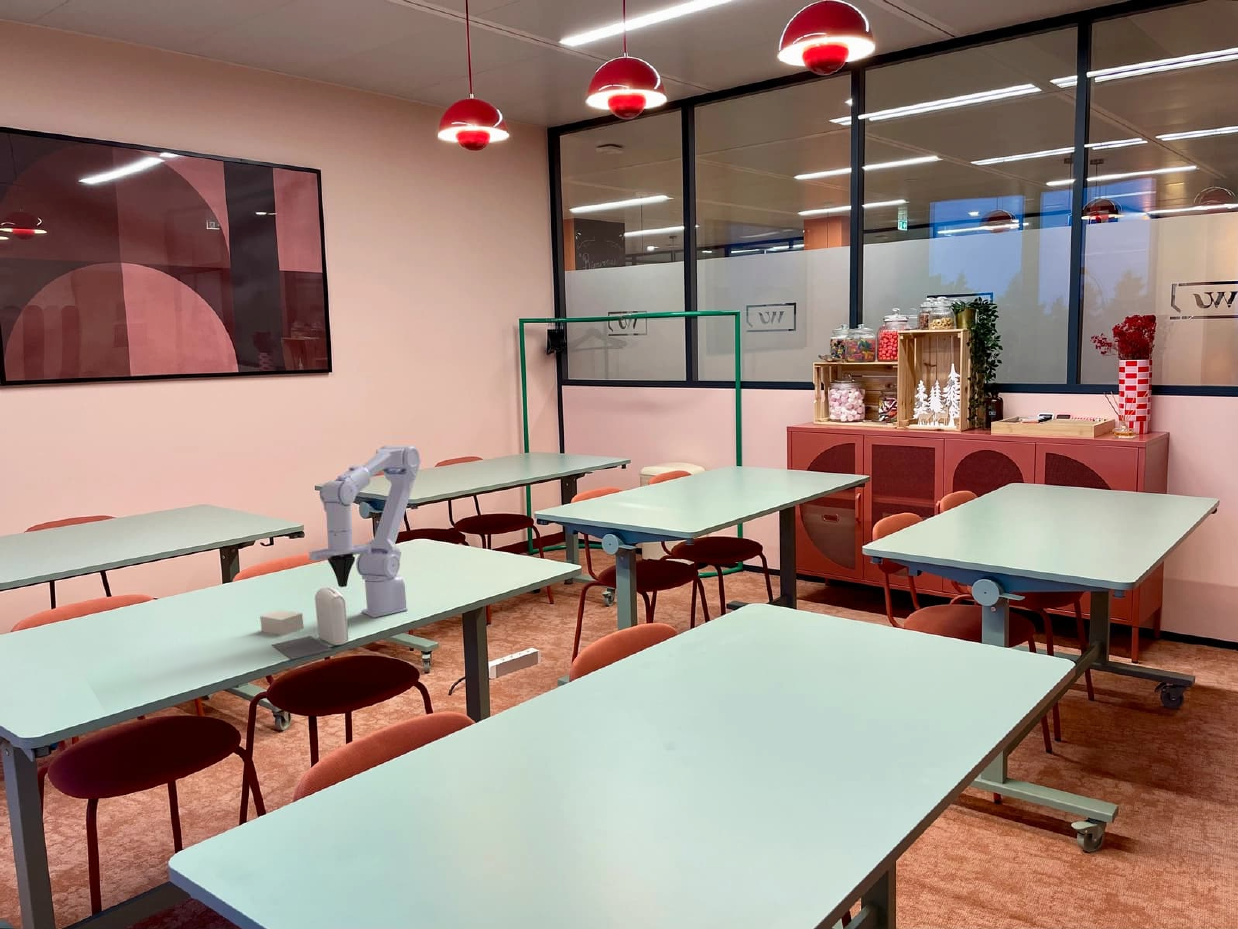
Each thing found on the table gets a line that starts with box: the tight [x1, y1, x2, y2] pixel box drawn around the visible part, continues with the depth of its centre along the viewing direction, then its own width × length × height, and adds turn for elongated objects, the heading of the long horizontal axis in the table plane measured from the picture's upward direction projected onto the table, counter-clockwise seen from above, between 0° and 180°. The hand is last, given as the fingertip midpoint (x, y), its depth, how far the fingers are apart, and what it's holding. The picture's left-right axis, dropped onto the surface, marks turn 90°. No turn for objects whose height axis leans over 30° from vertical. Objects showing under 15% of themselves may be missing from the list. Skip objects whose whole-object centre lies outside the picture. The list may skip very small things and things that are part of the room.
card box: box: [259, 609, 304, 636], centre depth 224 cm, size 6×8×4 cm
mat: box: [271, 635, 333, 661], centre depth 209 cm, size 9×14×1 cm, turn 38°
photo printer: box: [314, 587, 349, 646], centre depth 213 cm, size 10×4×12 cm, turn 39°
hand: (342, 586), depth 222 cm, fingers closed
